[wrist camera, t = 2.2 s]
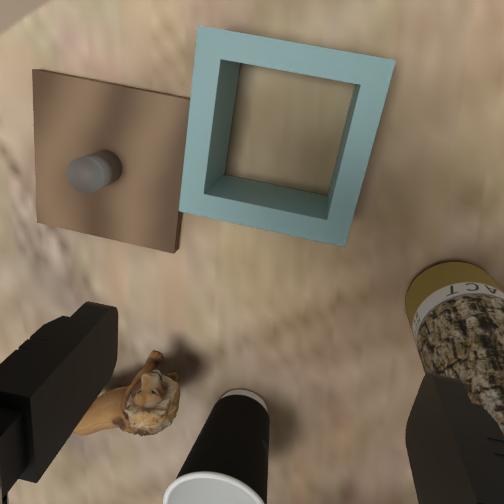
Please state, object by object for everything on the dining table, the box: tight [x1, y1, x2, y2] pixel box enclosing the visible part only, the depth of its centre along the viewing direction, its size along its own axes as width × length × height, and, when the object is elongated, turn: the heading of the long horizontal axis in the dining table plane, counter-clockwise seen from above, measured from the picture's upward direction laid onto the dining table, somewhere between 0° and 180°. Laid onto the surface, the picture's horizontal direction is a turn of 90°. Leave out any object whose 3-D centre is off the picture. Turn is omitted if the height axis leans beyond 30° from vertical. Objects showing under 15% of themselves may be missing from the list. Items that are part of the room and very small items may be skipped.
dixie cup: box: [163, 389, 270, 504], centre depth 37 cm, size 8×8×11 cm
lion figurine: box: [73, 351, 180, 436], centre depth 38 cm, size 15×5×9 cm, turn 119°
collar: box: [179, 25, 396, 247], centre depth 29 cm, size 11×11×6 cm
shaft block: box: [32, 69, 190, 253], centre depth 33 cm, size 12×12×4 cm
